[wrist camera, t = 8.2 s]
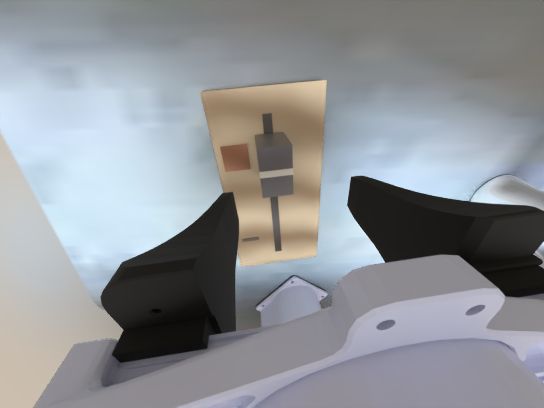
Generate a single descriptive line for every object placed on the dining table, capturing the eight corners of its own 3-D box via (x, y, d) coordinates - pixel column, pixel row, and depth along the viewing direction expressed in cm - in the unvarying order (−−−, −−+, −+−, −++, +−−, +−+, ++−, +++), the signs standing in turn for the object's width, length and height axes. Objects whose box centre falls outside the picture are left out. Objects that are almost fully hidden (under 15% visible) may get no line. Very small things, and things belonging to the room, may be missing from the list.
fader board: (313, 248, 28) (316, 256, 27) (241, 258, 27) (241, 267, 26) (320, 80, 17) (327, 80, 16) (203, 91, 17) (200, 92, 15)
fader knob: (285, 174, 20) (293, 194, 16) (259, 177, 19) (262, 198, 16) (283, 131, 17) (292, 144, 14) (254, 135, 17) (256, 148, 14)
